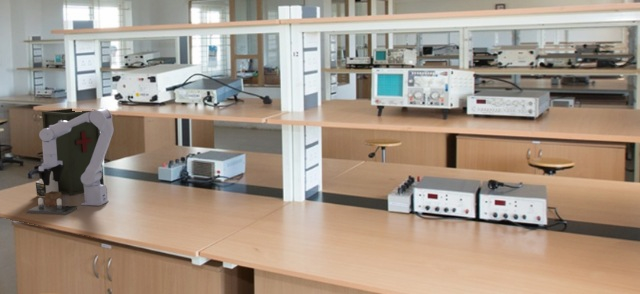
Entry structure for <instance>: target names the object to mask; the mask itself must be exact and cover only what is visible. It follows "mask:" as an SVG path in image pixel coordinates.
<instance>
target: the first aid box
mask: <svg viewBox="0 0 640 294" xmlns="http://www.w3.org/2000/svg"><path fill="white" fill-rule="evenodd" d="M87 112H91V111H82V112H75V111H72V108H66V109H65V108H63V109H62V108H61V109H53V110H44V111H41V117H42V128H43V129H44V128H49V126H50V125H54V124H57V123H58V121H60V120H62V121H63V120H66V121H70V120H72V119H74V118H76V117H78V116H80V115H82V114H84V113H87ZM43 129H42V130H43ZM100 133H101V132H100V130H99V129H98V127H96V126H95V125H94V124H93V123H92V122H84V123H81V124H79V125H76V126H74V127H72V129H71V131H70V132H68V133H66V134H64V135H62V136H59V137H57V138H56V147H57V161H62V164H63V165H61V166H64V168H63V170H62V173H61V177H60V181H59V182H58V189H59V192H61V195H67V196H78V195H79V194H84V184H83V183H82V182H81V175H82V174H83V173H84V172H85V170H86V168H87V167H88V165H89V164H90V161H91V158H92V155H93V153H94V150H95V147H96V144H97V141H98V138H99V136H100ZM103 166H104V165H102V177H101V179H100V184H102V185H105V184H104V169H103V168H104V167H103ZM47 170H48V171H52V169H51V168H49V169H47ZM52 172H53V171H52ZM53 180H54V175H53Z"/></svg>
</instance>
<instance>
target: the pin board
mask: <svg viewBox="0 0 640 294" xmlns="http://www.w3.org/2000/svg"><path fill="white" fill-rule="evenodd" d="M37 203H38V205H37V206H34V207H31V208H29V209H27V211H26V212H27V214H41V215H42V214H45V215H46V214H47V215H61V216H62V215H65V216H66V215H68V214H70V213H72V212H75V211H76V210H78V206H77V205H63V199H62V200H61V199H60V198H58V199H57V205H45V204H44V197H40V196H39V198H37Z"/></svg>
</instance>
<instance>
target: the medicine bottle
mask: <svg viewBox="0 0 640 294" xmlns="http://www.w3.org/2000/svg"><path fill="white" fill-rule="evenodd" d="M38 176H39V180H37V181H35V191H36V196H37V197H39V198H40V197H41V198H45V194H46V193H49V192H51V191H54V192H59V189H58V182H56V181H54V180H53V172H52V171H51V174H50V184H49V185H48V186H47V185H44V183H43V180H42V178H41V176H40V175H38Z"/></svg>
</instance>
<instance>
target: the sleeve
mask: <svg viewBox="0 0 640 294" xmlns="http://www.w3.org/2000/svg"><path fill="white" fill-rule="evenodd" d="M62 195H63V194H61V192H54V191H51V192H49V193H46V194H45V197H44V205H57V199H58V198H60V199H61V200H62V201H63V198H62V197H63V196H62Z"/></svg>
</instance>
